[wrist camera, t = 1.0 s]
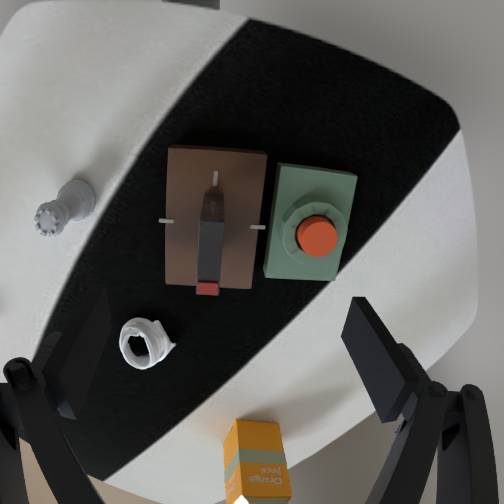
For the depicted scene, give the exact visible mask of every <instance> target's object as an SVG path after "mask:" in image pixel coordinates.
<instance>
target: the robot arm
mask: <svg viewBox="0 0 504 504" xmlns="http://www.w3.org/2000/svg"><path fill="white" fill-rule="evenodd" d="M111 329H112V324H111V318H110V312H109V305H108V298H107V291H106V285H98V284H92V286H91V287H90V289H89V290H88V292H87V294H86V295H85V297H84V298H83V300H82V301H81V303H80V305H79V306H78V308H77V310H76V311H75V313H74V314H73V316H72V318H71V319H70V321H69V323H68V324H67V326H66V328H65V330H64V331H63V333H59V332H53V333H52V334H50V335H49V336H48V337H47V338H46V339H45V341H44V342H43V344H42V347H40V349H39V351H38V353H37V354H36V356H35V357H34V359H33V361H32V363H31V362H30V361H29V360H28V359H26V358H22V357H18V358H14V359H12V360H10V361H8V362H7V363H6V364H5V366H4V369H3V373H4V376H5V378H6V380H7V382H8V383H0V504H29V501H28V496H27V491H26V486H25V479H24V474H23V467H22V460H21V452H20V442H19V431H18V428H24V430H25V432H26V435H27V438H28V440H29V443H30V445H31V447H32V450H33V452H34V454H35V457H36V459H37V461H38V464H39V466H40V468H41V470H42V472H43V475H44V477H45V479H46V480H47V483H48V485H49V487H50V489H51V490H52V493H53V494H54V496H55V498H56V500H57V502H58V504H106V503H105V502H104V501H103V499H102V497H101V496H100V495H99V493H98V491H97V490H96V488H95V487H94V486H93V484H92V482H91V481H90V479H89V478H88V476H87V474H86V473H85V471H84V469H83V468H82V466H81V464H80V462H79V461H78V459H77V457H76V455H75V454H74V452H73V450H72V448H71V446H70V444H69V443H68V441H67V439H66V437H65V435H64V433H63V431H62V429H61V427H60V425H59V423H58V421H57V419H56V417H55V413H56V410H57V408H58V410H59V412H60V414H61V416H63V417H67V418H72V419H76V420H77V418H78V415H79V412H80V409H81V407H82V404H83V401H84V398H85V395H86V393H87V390H88V387H89V384H90V382H91V379H92V376H93V374H94V371H95V369H96V366H97V363H98V361H99V358H100V356H101V353H102V351H103V348H104V346H105V343H106V341H107V339H108V336H109V334H110V331H111ZM341 338H342V340H343V342H344V344H345V346H346V348H347V350H348V352H349V354H350V356H351V358H352V360H353V362H354V364H355V366H356V369H357V371H358V373H359V375H360V377H361V379H362V381H363V383H364V385H365V388H366V390H367V392H368V394H369V396H370V398H371V400H372V403H373V405H374V407H375V409H376V411H377V413H378V416H379V418H380V420H381V422H382V423H386V422H391V421H396V419H397V418H398V416H399V415H400V413H402V415H403V417H404V419H403V421H402V422H401V424H400V425H399V427H398V429H397V430H396V431H395V433H397V432H398V433H397V435H396V438H395V440H394V442H393V445H392V447H391V450H390V452H389V455H388V457H387V459H386V461H385V464H384V466H383V468H382V470H381V472H380V474H379V476H378V479H377V480H376V483H375V485H374V487H373V489H372V491H371V493H370V495H369V496H368V498H367V500H366V502H365V504H419V502H420V499H421V496H422V493H423V491H424V488H425V485H426V482H427V479H428V476H429V472H430V469H431V466H432V462H433V459H434V456H435V452H436V448H438V449H437V450H438V467H437V468H438V469H437V470H438V471H437V497H436V504H499V498H498V485H497V473H496V464H495V456H494V449H493V442H492V436H491V430H490V424H489V419H488V414H487V410H486V405H485V400H484V396H483V393H482V391H481V390H480V389H479V388H478V387H477V386H474V385H472V384H466V385H464V386H463V387H462V389H461V390H460V392H455V391H448V390H447V389H446V387H445V386H444V385H442V384H441V383H439V382H436V381H431V379H430V378H429V376H428V375H427V374H426V372H425V370H424V369H423V367H422V366H421V364H420V363H418V362H419V361H418V360H417V359H416V357H415V356H414V354H413V353H412V351H411V350H410V349H409V348H408V347H407V346H405V345H404V344H403V343H398V344H397V343H396V341H395V340H394V338H393V337H392V335H391V334H390V332H389V331H388V329H387V328H386V326H385V325H384V324H383V322H382V321H381V319H380V318H379V316H378V315H377V313H376V312H375V310H374V309H373V308H372V306H371V305H370V303H369V302H368V301H367V299H366V298H365V297H352V301H351V304H350V308H349V311H348V315H347V318H346V322H345V325H344V328H343V331H342V335H341Z"/></svg>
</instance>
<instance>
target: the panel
mask: <svg viewBox="0 0 504 504" xmlns="http://www.w3.org/2000/svg"><path fill="white" fill-rule="evenodd" d="M266 163H267V154H266V153H265V152H264V151H258V150H248V149H237V148H224V147H211V146H194V145H172V146H171V147H169V150H168V168H167V191H166V219H161V218H160V219H159V222H161V223H166V239H165V260H166V284H177V285H192V286H196V275H197V249H198V229H199V218H200V213H201V208H202V203H203V198H204V194H205V193H218V194H224V216H225V225H224V237H223V249H222V262H221V276H220V287H225V288H244V289H251V285H252V277H253V268H254V260H255V252H256V244H257V236H258V229H265V225H259V220H260V212H261V204H262V195H263V187H264V179H265V171H266Z"/></svg>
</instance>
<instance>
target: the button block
mask: <svg viewBox="0 0 504 504" xmlns="http://www.w3.org/2000/svg"><path fill="white" fill-rule="evenodd" d="M356 181H357V176H356V175H354V174H352V173H350V172H346V171H340V170H333V169H326V168H319V167H312V166H304V165H296V164H288V163H279V162H278V163H277V168H276V176H275V184H274V191H273V199H272V206H271V214H270V221H269V229H268V236H267V244H266V251H265V258H264V266H263V270H264V273H265V277H266V278H283V279H304V280H328V281H335V278H336V274H337V270H338V266H339V262H340V258H341V253H342V249H343V246H344V243H345V239H346V234H347V230H348V228H347V226H348V222H349V217H350V212H351V207H352V202H353V197H354V192H355V187H356ZM312 216H321V217H324V218H325V219H327V220H328V221H329V222H330V223H331V224H332V226H333V227H334V228H335V229H336V232H337V243H336V246H335V247H334V249H333V250H332V251H331V252H330V253H329V254H327V255H325V256H322V257H313V256H310V255H308V254H307V253H306V252H305V251H304V250H303V248H302V247H301V245H300V243H299V241H298V238H297V231H298V228H299V226H300V224H301V223H302V222H303V221H304V220H305V219H307V218H309V217H312Z"/></svg>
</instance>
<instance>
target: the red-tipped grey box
mask: <svg viewBox="0 0 504 504" xmlns="http://www.w3.org/2000/svg"><path fill="white" fill-rule="evenodd" d="M224 225H225V216H224V194H218V193H205V194H204V198H203V203H202V208H201V213H200V218H199V229H198V249H197V275H196V294H203V295H219V290H220V276H221V262H222V249H223V237H224Z"/></svg>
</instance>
